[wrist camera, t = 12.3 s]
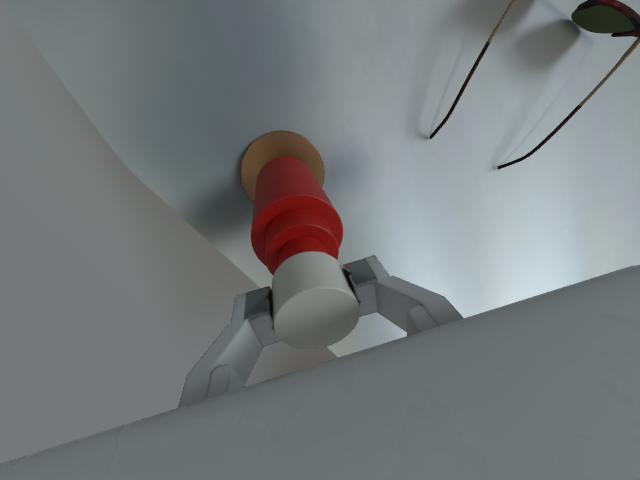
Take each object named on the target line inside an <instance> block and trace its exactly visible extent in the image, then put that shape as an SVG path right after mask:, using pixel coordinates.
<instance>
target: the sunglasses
mask: <svg viewBox="0 0 640 480" xmlns="http://www.w3.org/2000/svg"><path fill="white" fill-rule="evenodd" d="M515 1H516V0H513V1H512V2H511V4H510V5H509V7H508V8H507V10H506V11H505V13H504V15H503V16H502V18H501V19H500V21H499V23H498V24H497V26H496V28H495V29H494V31H493V33H492V34H491V36H490V38H489V39H488V41H487V43H486V44H485V46H484V48H483V49H482V51H481V53H480V55H479V57H478V58H477V60H476V62H475V64H474V66H473V67H472V69H471V71H470V73H469V75H468V77H467V78H466V80H465V82H464V84H463V86H462V88H461V90H460V92H459V94H458V95H457V97H456V99H455V101H454V103H453V105H452V107H451V109H450V111H449V112H448V114H447V116H446V117H445V119H444V120H443V121H442V123H441V124H440V125H439V126H438V127H437V129H436V130H435V131H434V132H433V133H432V134H431V136H430V139H432V138H433V137H434V135H435V134H436V133H437V132H438V131H439V130H440V128H441V127H442V126H443V125H444V124H445V122H446V121H447V120H448V118H449V117H450V115H451V113H452V112H453V110H454V108H455V106H456V104H457V102H458V100H459V99H460V97H461V95H462V93H463V91H464V89H465V87H466V86H467V84H468V82H469V80H470V78H471V76H472V75H473V73H474V71H475V69H476V67H477V65H478V64H479V62H480V60H481V58H482V57H483V55H484V53H485V51H486V50H487V48H488V46H489V44H490V42H491V40H492V38H493V37H494V35H495V33H496V31H497V30H498V28H499V26H500V25H501V23H502V21H503V20H504V18H505V16H506V15H507V13H508V12H509V10H510V9H511V7H512V5H513V4H514V2H515ZM571 18H572V20H573V21H574V22H575V23H576V24H577V25H578V26H580V27H581V28H583V29H585V30H587V31H590V32H594V33H613V34H612V35H611V36H612V37H622V36H634V37H638V38H637V40H636V41H635V42H634V43H633V44H632V45H631V47H630V48H629V49H628V50H627V51H626V52H625V54H624V55H623V56H622V58H621V59H620V60H619V62H618V63H617V64H616V65H615V66H614V68H613V69H612V70H611V71H610V72H609V73H608V74H607V75H606V77H605V78H604V79H603V80H602V81H601V82H600V83H599V84H598V85H597V86H596V87H595V89H594V90H593V91H592V92H591V93H590V94H589V95H588V96H587V97H586V98H585V99H584V100H583V101H582V102H581V103H580V104H579V105H578V106H577V107H576V108H575V109H574V110H573V111H572V112H571V113H570V114H569V115H568V116H567V117H566V118H565V119H564V121H563V122H562V123H561V124H560V125H559V126H558V127H557V128H556V129H555V130H554V131H553V132H552V133H550V134H549V135H548V136H547V137H546V138H545V139H544V140H543V141H542V142H541V143H540V144H539V145H538V146H537V147H535V148H534V149H533V150H532V151H531V152H529V153H528V154H526V155H525V156H523V157H521V158H519V159H517V160H514V161H512V162H509V163H506V164H504V165H501V166H498V169H501V168H504V167H506V166H509V165H512V164H515V163H517V162H520V161H522V160H524V159H526V158H527V157H529V156H530V155H532V154H533V153H534V152H535V151H537V150H538V149H539V148H540V147H541V146H542V145H543V144H545V143H546V142H547V141H548V140H549V139H550V138H551V137H552V136H553V135H554V134H555V133H556V132H557V131H558V130H559V129H560V128H561V127H562V126H563V125H564V124H565V123H566V122H567V121H568V120H569V119H570V118H571V117H572V116H573V115H574V114H575V113H576V112H577V111H578V110H579V109H580V108H581V107H582V106H583V105H584V104H585V102H586V101H587V100H588V99H589V98H590V97H591V96H592V95H593V94H594V93H595V92H596V91H597V90H598V89H599V88H600V87H601V85H602V84H603V83H604V82H605V81H606V80H607V79H608V78H609V77H610V76H611V75H612V73H613V72H614V71H615V70H616V69H617V68H618V67H619V66H620V65H621V63H622V62H623V61H624V60H625V59H626V58H627V57H628V56H629V55H630V54H631V53H632V52H633V50H634V49H635V48H636V47H637V45H638V44H639V43H640V16H639V15H638V14H637V13H636V12H635V11H634V10H633V9H631V8H630V7H629V6H627V5H625V4H623V3H621V2H619V1H617V0H588V1H586V2H584V3H582V4H580V5H579V6H578V7H577V9H576V10H575V11H574V12H573V13H572V15H571Z"/></svg>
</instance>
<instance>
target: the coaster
mask: <svg viewBox="0 0 640 480" xmlns="http://www.w3.org/2000/svg"><path fill="white" fill-rule="evenodd" d="M284 156H287V157H294V158H297V159H299V160H301V161H302V162H304V163H305V164H306V165H307V166H308V167H309V168H310V170H311V171H312V173H313V174H314V176H315V178H316V179H317V181H318V183H319V184H320V186H321V187H322V186H323V182H324V165H323V161H322V159H321V156H320V154H319V152H318V151H317V149H316V148H315V147H314V146H313V145H312V144H311V143H310V142H309V141H308V140H307V139H306V138H304V137H302V136H301V135H299V134H296V133H293V132H289V131H274V132H269V133H266V134H264V135H262V136H260V137H259V138H257V139H256V140H255V141H254V142H253V143H252V144H251V145H250V146H249V147H248V149H247V151H246V152H245V154H244V157H243V160H242V164H241V180H242V184H243V187H244V189H245V191H246V193H247V194H248V196H249V197H250V199H251V200H252V201H253V202H254V199H255V189H256V180H257V176H258V174H259V172H260V170H261V168H262V167H263V166H264V165H265V164H266V163H267V162H269V161H270V160H272V159H274V158H277V157H284Z"/></svg>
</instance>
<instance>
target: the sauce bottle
mask: <svg viewBox="0 0 640 480" xmlns="http://www.w3.org/2000/svg"><path fill="white" fill-rule="evenodd" d="M342 237H343V227H342V222H341V219H340V217H339V215H338V213H337V212H336V210H335V208H334V207H333V205H332V204H331V202H330V200H329V199H328V197H327V196H326V194H325V192H324V191H323V189H322V187H321V186H320V184H319V183H318V181H317V179H316V178H315V176H314V174H313V173H312V171H311V170H310V168H309V167H308V166H307V165H306V164H305V163H304V162H302V161H301V160H299V159H297V158H294V157H287V156H284V157H277V158H274V159H272V160H270V161H269V162H267V163H266V164H265V165H264V166H263V167H262V168H261V170H260V172H259V174H258V176H257V180H256V189H255V199H254V209H253V219H252V230H251V243H252V247H253V250H254V252H255V254H256V256H257V257H258V258H259V260H260V261H261V262H262V263H263V264H264V265H266V266H267V268H268V270H269V271H270V272H271V274H272V275H273V279H272V302H273V326H274V331H275V333H276V335H277V336H278V338H279V339H280V340H281V341H282V342H283V343H285V344H287V345H289V346H291V347H294V348H299V349H318V348H323V347H327V346H329V345H332V344H334V343H336V342H338V341H340V340H342V339H343V338H345V337H346V336H347V335H348V334H349V333H350V332H351V331H352V330H353V329H354V328H355V326H356V324H357V322H358V320H359V316H360V306H359V303H358V301H357V299H356V297H355V294H354V292H353V290H352V288H351V285H350V283H349V281H348V279H347V277H346V274H345V272H344V270H343V268H342V266H341V264H340V263H339V262H338V261H337V259H338V254H339V247H340V245H341V242H342Z"/></svg>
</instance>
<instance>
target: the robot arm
mask: <svg viewBox="0 0 640 480" xmlns="http://www.w3.org/2000/svg"><path fill="white" fill-rule="evenodd" d="M343 270H344V272H345V274H346V277H347V279H348V281H349V283H350V285H351V288H352V290H353V292H354V294H355V297H356V299H357V301H358V303H359V306H360V316H359V317H361V316H364V315H368V314H372V313H375V312H378V313H379V314H381V315H382V316H384V317H385V318H387V319H388V320H389V321H391V322H392V323H394V324H395V325H397V326H398V327H400V328H401V329H403V330H404V331H406V332H407V336H406V337H403V338H400V339H397V340H394V341H390V342H387V343H384V344H381V345H378V346H374V347H371V348H368V349H365V350H362V351H358V352H355V353H352V354H349V355H346V356H342V357H339V358H336V359H333V360H330V361H327V362H323V363H320V364H317V365H314V366H311V367H307V368H305V369H301V370H298V371H295V372H291V373H288V374H285V375H282V376H279V377H276V378H272V379H269V380H266V381H263V382H259V383H256V384H253V385H250V386H247V387H246V386H245V384H246V382H247V379H248V378H249V375H250V374H251V372H252V370H253V368H254V365H255V364H256V362H257V359H258V358H259V356H260V354H261V352H262V349H263V347H264V346H267V345H270V344H273V343H276V342H279V341H281V340H280V339H279V338H278V336H277V335H276V333H275V331H274V326H273V302H272V289H271V287H269V286H268V287H264V288H260V289H257V290H253V291H249V292H247V293H243V294H239V295H236V297H235V300H234V307H233V313H232V319H231V324H230V325H227V326H226V327H225V329H224V330H223V331H222V332H221V334H220V335H219V336H218V338H217V339H216V340H215V341H214V342H213V344H212V345H211V346H210V347H209V349H208V350H207V351H206V352H205V354H204V355H203V356H202V357H201V359H200V360H199V361H198V362H197V363H196V365H195V366H194V367H193V368H192V370H191V371H190V372H189V373H188V375H187V377H186V381H185V384H184V388H183V392H182V395H181V398H180V402H179V406H178V408H176V409H173V410H170V411H167V412H164V413H160V414H157V415H154V416H151V417H148V418H144V419H141V420H138V421H135V422H132V423H129V424H125V425H122V426H119V427H116V428H113V429H109V430H106V431H103V432H100V433H97V434H93V435H90V436H87V437H84V438H81V439H77V440H74V441H71V442H68V443H65V444H62V445H58V446H55V447H52V448H49V449H46V450H42V451H39V452H36V453H33V454H30V455H26V456H24V457H20V458H17V459H14V460H11V461H7V462H4V463H1V464H0V480H640V265H636V266H631V267H627V268H623V269H620V270H617V271H614V272H610V273H607V274H604V275H601V276H598V277H595V278H591V279H588V280H585V281H582V282H579V283H576V284H572V285H569V286H566V287H563V288H560V289H556V290H553V291H550V292H547V293H544V294H541V295H537V296H534V297H531V298H528V299H525V300H521V301H518V302H515V303H512V304H509V305H505V306H502V307H499V308H496V309H493V310H489V311H486V312H483V313H480V314H477V315H473V316H470V317H467V318H463V317H462V316H461V315H460V313H459V312H458V311H457V310H456V309H455V308H454V307H453V306H452V304H451V303H450V302H449V301H448V300H447V299H446V298H445V297H444V296H442V295H439V294H437V293H434V292H432V291H429V290H427V289H424V288H422V287H419V286H417V285H415V284H412V283H410V282H407V281H405V280H402V279H400V278H397V277H395V276H391V277H390V276H389V274H388V273H387V272H386V270H385V269H384V267H383V266H382V264H381V263H380V262H379V260H378V259H377V257H376V256H375V255H373V256H370V257H366V258H364V259H361V260H357V261H354V262H351V263H347V264H344V265H343Z"/></svg>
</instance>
